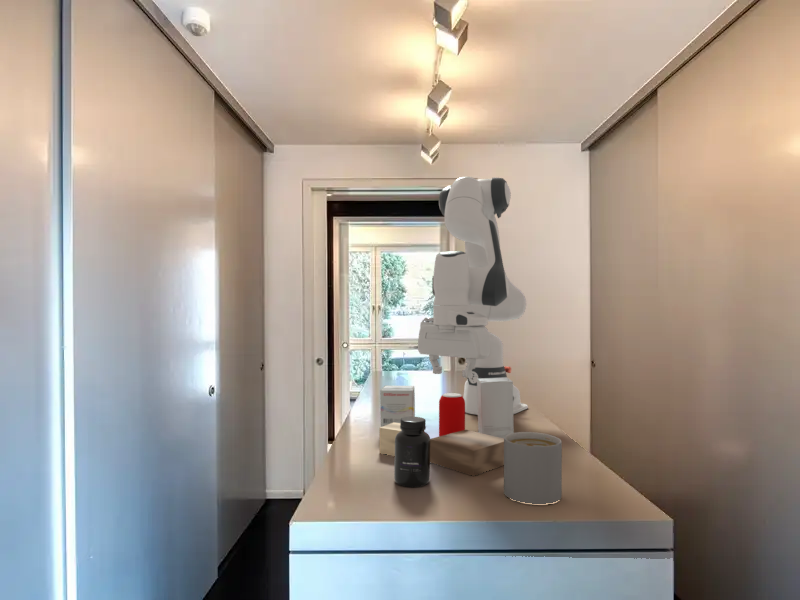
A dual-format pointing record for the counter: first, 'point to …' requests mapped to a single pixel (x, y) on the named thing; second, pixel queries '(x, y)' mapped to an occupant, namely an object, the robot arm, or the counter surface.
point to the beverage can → (451, 413)
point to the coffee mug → (533, 467)
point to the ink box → (396, 403)
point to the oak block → (388, 438)
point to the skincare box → (495, 406)
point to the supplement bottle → (412, 453)
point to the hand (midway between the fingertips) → (451, 375)
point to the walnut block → (467, 452)
